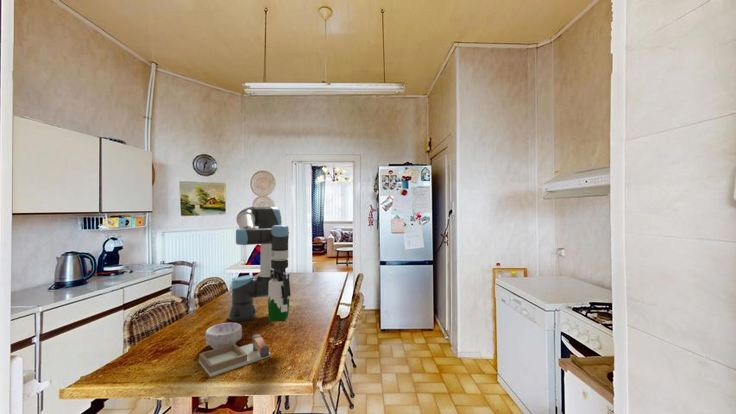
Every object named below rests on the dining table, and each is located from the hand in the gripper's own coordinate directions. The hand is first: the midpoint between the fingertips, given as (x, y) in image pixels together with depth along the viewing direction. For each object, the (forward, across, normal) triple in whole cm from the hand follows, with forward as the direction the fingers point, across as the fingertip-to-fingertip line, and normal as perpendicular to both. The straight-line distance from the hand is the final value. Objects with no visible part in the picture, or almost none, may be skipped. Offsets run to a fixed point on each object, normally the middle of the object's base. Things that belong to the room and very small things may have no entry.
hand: (279, 308), depth 139 cm
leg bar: (+13, +4, -11) cm, 18 cm away
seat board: (+18, -2, -18) cm, 25 cm away
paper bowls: (+18, -19, -17) cm, 32 cm away
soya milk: (+5, 0, 0) cm, 5 cm away
